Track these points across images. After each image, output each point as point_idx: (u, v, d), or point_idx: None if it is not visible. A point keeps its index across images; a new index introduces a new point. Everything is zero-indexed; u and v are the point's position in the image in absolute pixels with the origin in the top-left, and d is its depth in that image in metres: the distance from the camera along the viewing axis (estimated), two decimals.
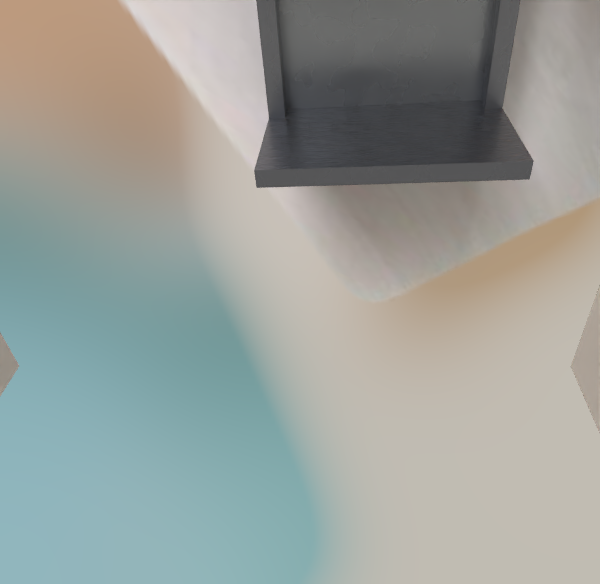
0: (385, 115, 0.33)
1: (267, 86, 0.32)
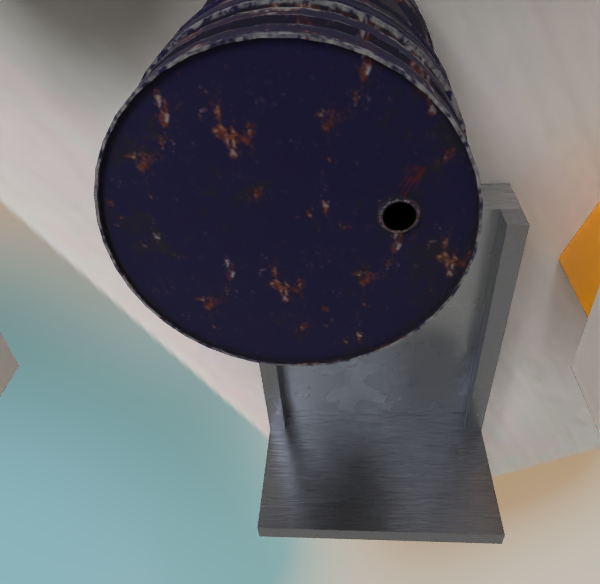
0: (375, 433, 0.36)
1: (268, 410, 0.36)
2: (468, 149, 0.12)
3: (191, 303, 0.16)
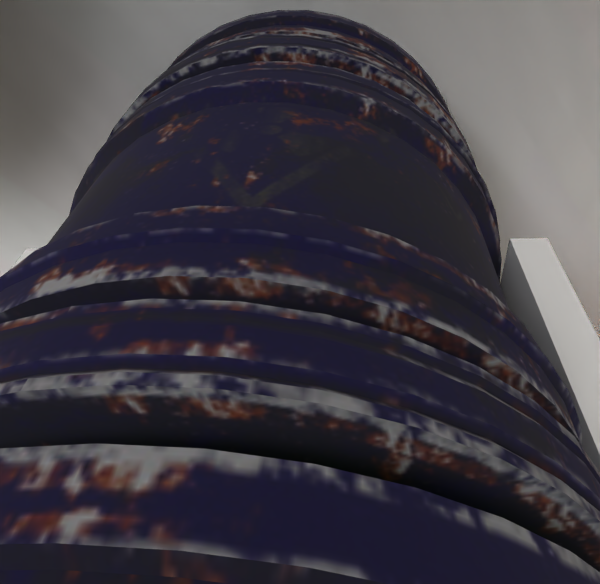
0: None
1: None
2: None
3: None
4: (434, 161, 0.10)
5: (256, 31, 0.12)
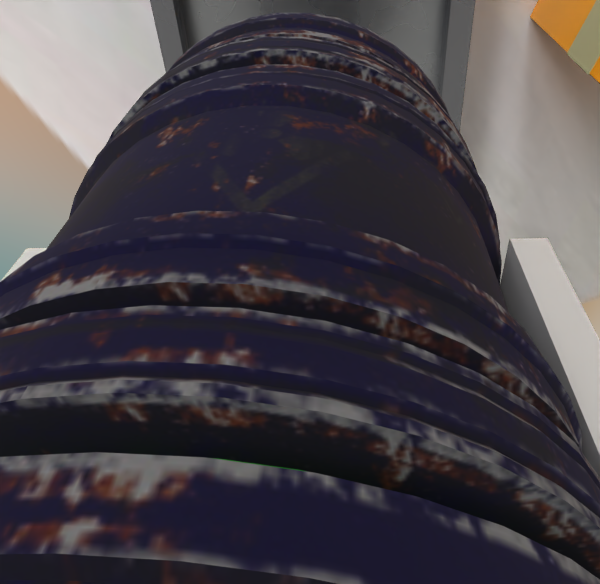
0: None
1: None
2: None
3: None
4: (434, 164, 0.10)
5: (256, 33, 0.12)
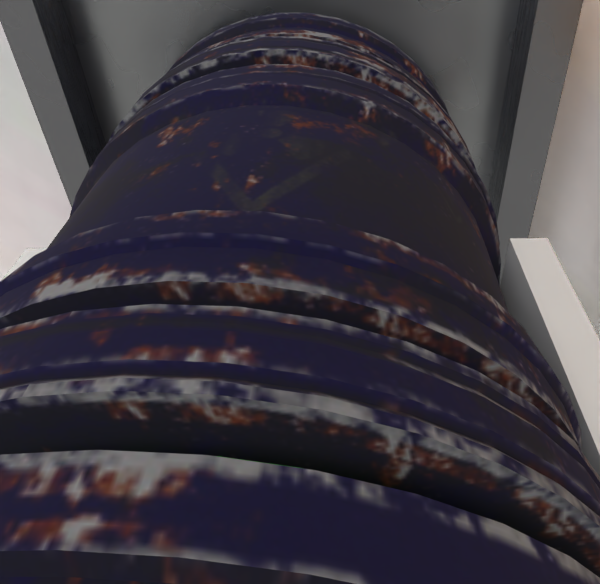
0: None
1: None
2: None
3: None
4: (434, 164, 0.10)
5: (256, 33, 0.12)
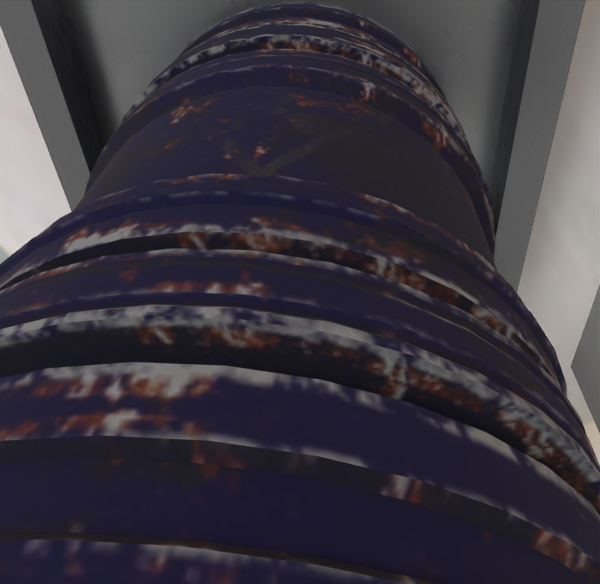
0: None
1: None
2: None
3: None
4: (431, 142, 0.10)
5: (261, 22, 0.13)
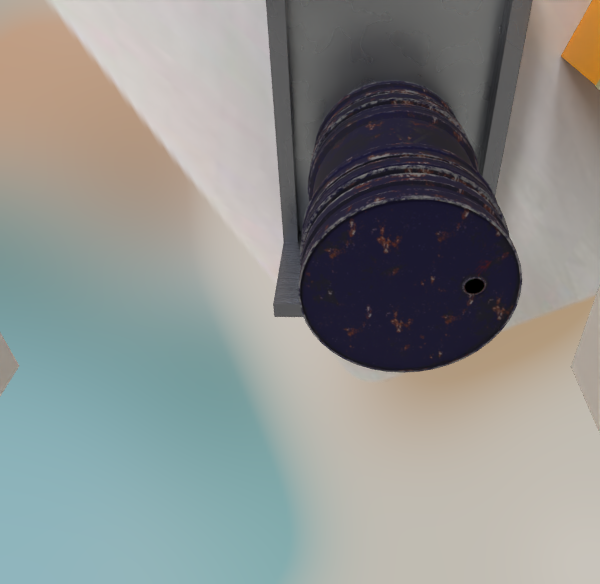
0: None
1: (283, 218, 0.37)
2: (516, 253, 0.22)
3: (340, 331, 0.26)
4: (456, 139, 0.29)
5: (385, 90, 0.31)
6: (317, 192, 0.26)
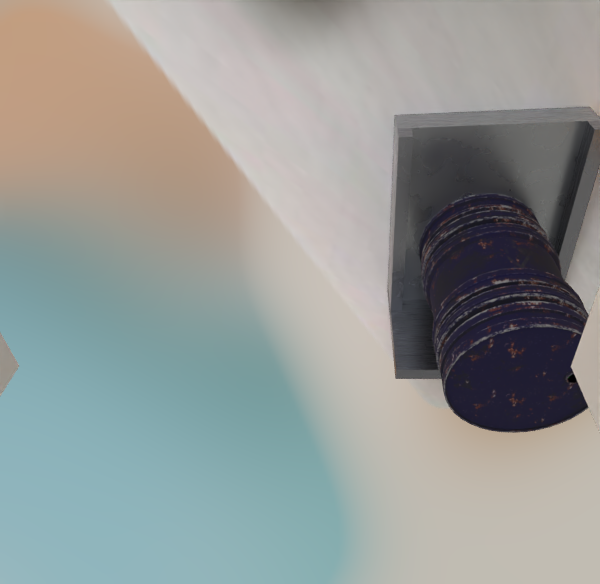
0: None
1: (392, 293, 0.47)
2: None
3: (470, 406, 0.35)
4: (546, 250, 0.38)
5: (485, 205, 0.40)
6: (449, 302, 0.35)
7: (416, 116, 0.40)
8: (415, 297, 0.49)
